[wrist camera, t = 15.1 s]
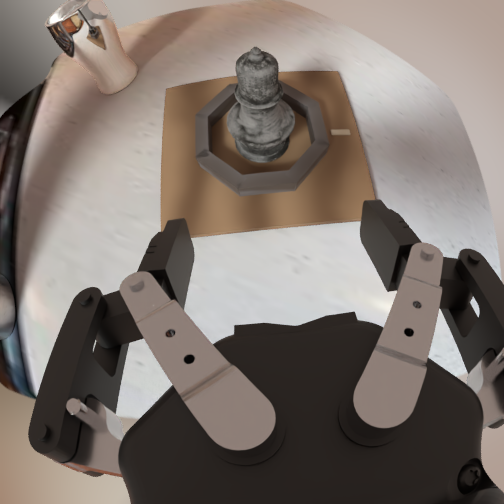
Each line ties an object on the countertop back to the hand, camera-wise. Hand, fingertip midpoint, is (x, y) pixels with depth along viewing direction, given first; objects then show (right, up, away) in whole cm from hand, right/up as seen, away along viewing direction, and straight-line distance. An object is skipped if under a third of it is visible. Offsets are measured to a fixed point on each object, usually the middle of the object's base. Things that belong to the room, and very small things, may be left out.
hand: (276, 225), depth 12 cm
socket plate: (0, +10, +14) cm, 17 cm away
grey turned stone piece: (0, +10, +13) cm, 17 cm away
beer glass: (-19, +23, +18) cm, 35 cm away
